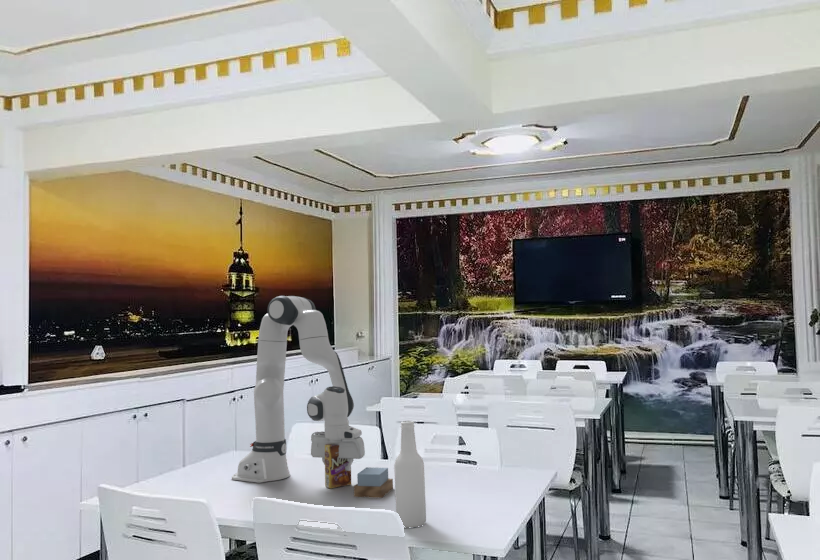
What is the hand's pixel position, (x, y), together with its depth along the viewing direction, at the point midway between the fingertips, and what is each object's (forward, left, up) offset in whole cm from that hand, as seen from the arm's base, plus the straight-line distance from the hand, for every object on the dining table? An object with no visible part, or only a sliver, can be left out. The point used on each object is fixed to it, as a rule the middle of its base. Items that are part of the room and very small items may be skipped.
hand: (338, 470), depth 251 cm
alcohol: (+40, -37, -6) cm, 55 cm away
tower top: (+16, -6, -2) cm, 17 cm away
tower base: (+16, -6, -6) cm, 18 cm away
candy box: (0, 0, -6) cm, 6 cm away
